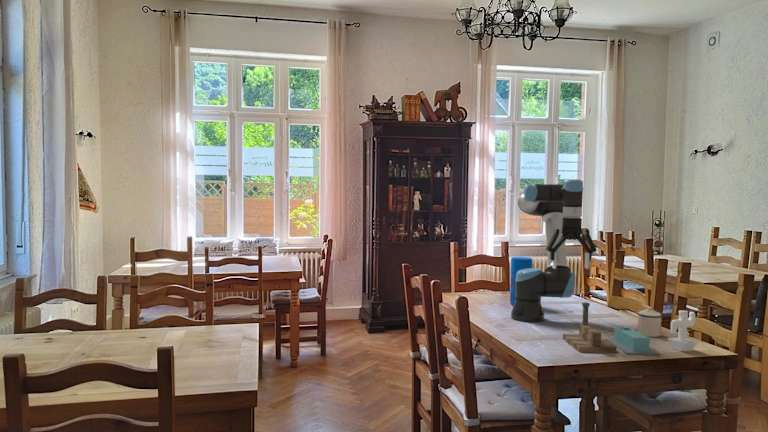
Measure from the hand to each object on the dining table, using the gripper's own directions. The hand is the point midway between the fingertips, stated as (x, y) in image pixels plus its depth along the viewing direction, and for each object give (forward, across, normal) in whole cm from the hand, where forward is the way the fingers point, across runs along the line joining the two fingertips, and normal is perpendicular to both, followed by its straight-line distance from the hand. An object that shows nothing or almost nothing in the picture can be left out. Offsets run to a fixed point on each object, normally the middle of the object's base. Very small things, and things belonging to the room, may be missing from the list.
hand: (570, 268), depth 221 cm
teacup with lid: (+28, +34, +2) cm, 45 cm away
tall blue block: (+29, -4, +57) cm, 64 cm away
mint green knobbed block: (+27, +18, -17) cm, 37 cm away
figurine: (+28, +36, -21) cm, 50 cm away
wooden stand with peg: (+28, +2, -16) cm, 32 cm away
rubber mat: (+28, +18, -17) cm, 37 cm away
